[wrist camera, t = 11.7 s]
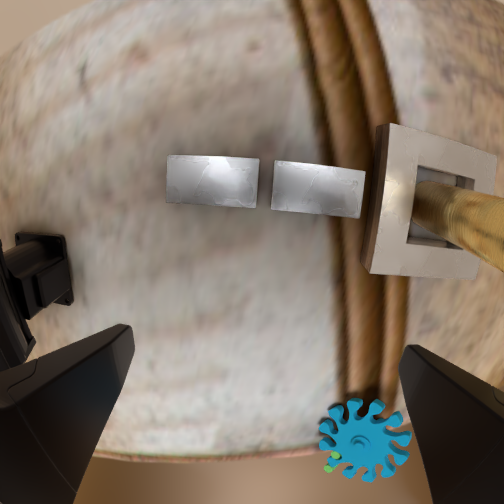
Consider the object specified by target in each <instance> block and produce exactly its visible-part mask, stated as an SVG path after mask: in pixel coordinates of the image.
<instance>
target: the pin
mask: <svg viewBox="0 0 504 504" xmlns="http://www.w3.org/2000/svg"><path fill="white" fill-rule="evenodd" d="M411 219H412V220H413V221H414V222H415V223H416V224H417V225H419V226H421V227H423V228H425V229H426V230H428V231H430V232H432V233H434V234H436V235H438V236H440V237H442V238H444V239H446V240H448V241H449V242H451V243H453V244H455V245H457V246H459V247H460V248H462V249H464V250H466V251H468V252H469V253H471V254H473V255H475V256H476V257H478V258H480V259H482V260H483V261H485V262H487V263H488V264H490V265H492V266H493V267H495V268H497V269H498V270H500V271H502V272H503V273H504V198H501V197H497V196H493V195H489V194H485V193H481V192H477V191H473V190H469V189H464V188H460V187H456V186H451V185H446V184H441V183H436V182H431V181H423V182H420V183H419V184H417V185H416V186H415V192H414V199H413V206H412V212H411Z"/></svg>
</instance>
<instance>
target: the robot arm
mask: <svg viewBox="0 0 504 504" xmlns="http://www.w3.org/2000/svg"><path fill="white" fill-rule="evenodd" d="M19 237H20V238H19ZM59 240H60V242H59ZM15 242H16V247H14V248H12V249H9V250H7V251H5V252H3V251H2V247H1V246H2V242H1V239H0V504H73V502H74V499H75V497H76V494H77V493H76V492H77V491H78V489H79V486H80V484H81V481H82V479H83V476H84V474H85V471H86V469H87V467H88V464H89V462H90V459H91V457H92V455H93V452H94V450H95V448H96V445H97V443H98V441H99V438H100V436H101V434H102V432H103V429H104V427H105V425H106V423H107V421H108V418H109V416H110V414H111V412H112V410H113V407H114V405H115V403H116V401H117V399H118V397H119V395H120V392H121V390H122V387H123V385H124V382H125V379H126V376H127V373H128V370H129V367H130V364H131V361H132V358H133V355H134V352H135V344H134V338H133V331H132V327H131V326H130V325H125V324H117V325H115V326H112V327H110V328H108V329H105V330H103V331H101V332H98V333H96V334H94V335H91V336H89V337H87V338H84V339H82V340H79V341H77V342H75V343H72V344H70V345H68V346H65V347H63V348H60V349H58V350H56V351H53V352H51V353H48V354H46V355H44V356H41V357H39V358H38V359H34V360H31V361H29V362H27V363H25V362H26V360H27V358H28V356H29V354H30V353H31V351H32V349H33V347H34V345H35V344H36V341H35V338H34V336H32V334H31V332H30V329H29V327H28V325H27V322H26V319H27V320H30V319H31V318H33V317H34V316H35V315H36V314H38V313H39V312H40V311H41V310H42V309H44V308H47V307H48V306H49V305H50V304H52V303H58V304H62V305H67V306H70V305H71V304H72V303H73V296H72V290H71V284H70V277H69V270H68V263H67V255H66V246H65V239H64V237H63V236H62V235H56V234H43V233H30V232H18V233H16V234H15ZM67 299H68V300H69V301H68V300H67ZM398 371H399V376H400V380H401V385H402V389H403V394H404V398H405V403H406V407H407V410H408V413H409V417H410V420H411V423H412V426H413V429H414V433H415V436H416V439H417V443H418V446H419V450H420V453H421V457H422V460H423V464H424V468H425V472H426V476H427V480H428V484H429V488H430V493H431V497H432V502H433V504H504V392H503V391H501V390H499V389H497V388H495V387H494V386H491V385H490V384H488V383H486V382H485V381H483V380H481V379H479V378H477V377H476V376H474V375H472V374H470V373H468V372H467V371H465V370H463V369H461V368H459V367H458V366H456V365H454V364H452V363H450V362H449V361H447V360H445V359H443V358H441V357H440V356H438V355H436V354H434V353H432V352H431V351H429V350H427V349H425V348H423V347H422V346H420V345H417V344H414V345H407V346H406V347H405V349H404V352H403V355H402V357H401V360H400V362H399V366H398Z"/></svg>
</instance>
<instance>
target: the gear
mask: <svg viewBox="0 0 504 504" xmlns="http://www.w3.org/2000/svg"><path fill="white" fill-rule="evenodd" d="M362 405H363V400H362V399H359V398H351V399H350V400H349V401H348V402H347V407H348V409H349V420H348V421H345V420H344V419H343V417H342V416H343V412H344V408H343V407H342V406H341V405H338V406H335V407H334V408H332V409H331V410H329V411H328V413H329V415H330V417H332V418H333V419H334V420H335V422H336V424H337V426H338V431H336V430H335V429H334V426H333V423H332V421H331V420H329V419H327V420H326V421H324V422H323V423H322V424H321V425H320V427H319V430H320V431H321V432H323V433H326V434H328V435H330V436H331V437H332V438H333V439H334V440H335V441H336V444H335V443H333V442H332V440H331V439H330V438H328V437H324V438H323V439H322V440H321V441H320V444H319V447H320V449H321V450H333V452H332V453H331V456H330V457H329V458H328V459H327V461H328V464H327V465H325V467H324V470H325V471H326V472H328V473H330V472H332V471H333V470H334V469H335V468H336V467H337V466H338V464H339V463H343V462H350V463H352V464H353V466H348V467H347V468H346V469H345V470H344V471H343V472H342V474H343V475H344V476H346V477H347V478H349V479H350V478H352V477H353V476H354V475H355V474H356V472H357V469H358V468H360V467H362V466H364V467H366V468H368V471H366V472H365V474H364V475H363V476H362V480H363V481H367V482H372V481H373V480H374V479H375V478H376V472H375V465H376V464H381V465H382V466H383V470H382V472H381V475H382V477H390V476H393V474H394V473H395V471H396V468H395V466H393V465H392V464H391V463H390V461H389V459H388V454H392V455H393V456H394V459H395V463H396V464H398V465H402V464H403V463H404V462H405V461H406V460H407V458H408V457H409V455H410V454H409V452H407V451H404V450H400V449H398V448H396V447H395V446H394V445H393V444H392V442H391V440H395V441H397V442H398V443H399V444H400V445H401V446H407V445H408V444H409V442H410V440H411V436H412V434H411V432H410V431H404V432H400V433H396V432H392V431H389V430H387V429H386V427H385V426H386V425H389V426H392V427H399V426H400V425H401V424H402V422H403V417H402V415H401V413H400V412H399V411H397V412H394V413H393V414H392V415H391V416H390V417H389V418H387V419H383V418H379V419H378V420H375V419H374V418H373V415H375V414H379V413H381V412H382V410H383V409H384V408H385V404H384V403H383V402H382V401H380V400H378V399H375V400H374V401H373V402H372V403H371V404H370V407H369V412H368V414H367V415H366V416H364V417H360V416H358V415H357V410H358V409H359V408H360V407H361V406H362Z"/></svg>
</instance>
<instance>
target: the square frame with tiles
mask: <svg viewBox="0 0 504 504" xmlns="http://www.w3.org/2000/svg"><path fill="white" fill-rule="evenodd" d="M259 161H260V159H254V158H239V157H221V156H194V155H168V158H167V182H166V203H184V204H201V205H217V206H232V207H245V208H256V200H257V187H258V174H259ZM496 162H497V156H494V155H492V154H489V153H487V152H484V151H481V150H479V149H476V148H473V147H471V146H468V145H465V144H462V143H459V142H456V141H453V140H450V139H447V138H444V137H440V136H437V135H434V134H430V133H427V132H423V131H420V130H416V129H412V128H408V127H404V126H400V125H396V124H392V123H388V124H384V125H380V126H377V132H376V146H375V157H374V168H373V177H372V186H371V194H370V201H369V209H368V216H367V222H366V229H365V235H364V241H363V247H362V253H361V258H360V262H361V264H362V265H363V266H364V267H365V268H366V269H367V271H368V272H369V273H372V274H386V275H401V276H416V277H432V278H448V279H465V280H475V278H476V275H477V271H478V267H479V264H480V260H481V259H480V258H478V257H476V256H475V255H473V254H471V253H469V252H468V251H466V250H464V249H462V248H460V247H459V246H457V245H455V244H453V243H451V242H449V241H448V240H447V242H446V241H439V240H431V239H424V238H416V237H407V235H408V230H409V224H410V219H411V212H412V206H413V199H414V192H415V184H416V176H417V166H418V167H423V168H427V169H431V170H435V171H439V172H443V173H447V174H451V175H455V176H458V178H457V186H456V187H460V188H464V189H469V190H473V191H477V192H481V193H485V194H489V195H493V191H494V183H495V174H496ZM364 180H365V171H359V170H353V169H346V168H339V167H332V166H324V165H316V164H307V163H298V162H289V161H278V160H275V161H274V173H273V185H272V197H271V210H282V211H293V212H303V213H313V214H323V215H333V216H342V217H350V218H359V219H360V212H361V205H362V197H363V189H364Z"/></svg>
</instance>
